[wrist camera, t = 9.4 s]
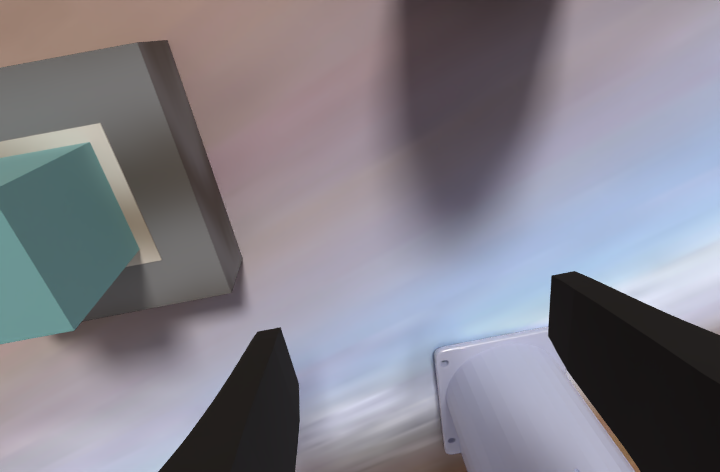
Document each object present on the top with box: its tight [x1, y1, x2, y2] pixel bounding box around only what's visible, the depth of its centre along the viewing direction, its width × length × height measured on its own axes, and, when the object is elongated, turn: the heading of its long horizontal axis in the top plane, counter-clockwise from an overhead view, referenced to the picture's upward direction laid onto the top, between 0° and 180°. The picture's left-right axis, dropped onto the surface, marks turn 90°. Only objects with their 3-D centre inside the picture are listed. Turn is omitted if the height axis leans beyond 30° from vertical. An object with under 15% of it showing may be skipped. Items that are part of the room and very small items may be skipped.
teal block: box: [0, 142, 140, 344], centre depth 13 cm, size 4×4×5 cm
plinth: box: [0, 40, 242, 321], centre depth 17 cm, size 10×10×3 cm
